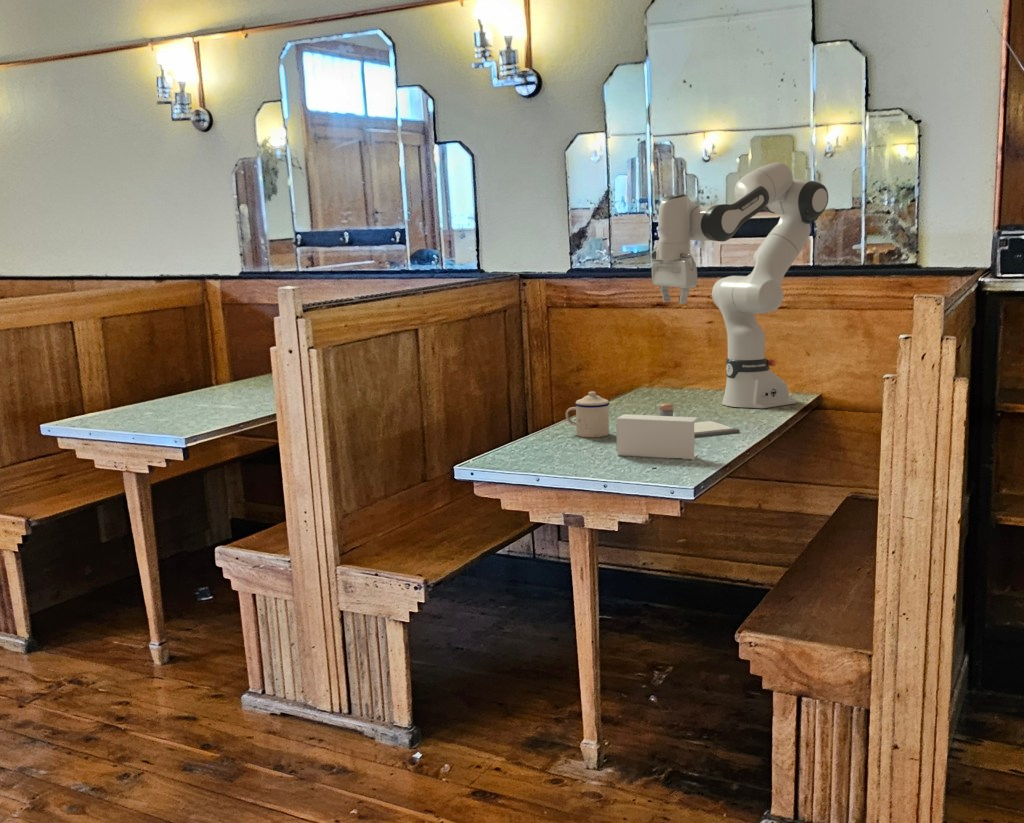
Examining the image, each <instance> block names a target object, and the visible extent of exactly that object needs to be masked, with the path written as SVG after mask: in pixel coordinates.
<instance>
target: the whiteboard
mask: <svg viewBox="0 0 1024 823" xmlns="http://www.w3.org/2000/svg"><path fill="white" fill-rule="evenodd" d="M740 432H741V430H740V429H739V428H736V427H732V426H729V425H726V424H723V423H719V422H717V421H713V420H709V421H699V422H697V421H695V422H694V438H700V437H701V438H702V437H711V436H719V435H729V434H737V433H740Z"/></svg>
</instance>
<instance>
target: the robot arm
mask: <svg viewBox="0 0 1024 823" xmlns="http://www.w3.org/2000/svg"><path fill="white" fill-rule="evenodd" d="M733 191H734V198H735V201H734V202H731V203H730V204H728V203H727V204H725V203H723V204H716V205H700V204H697V203H695V202H694V201H693V200H691V199H690V198H689V196H688V194H686V193H680V194H679V193H678V194H671V195H668V196H664V197H663V198H662V199H661V201H660V202H659V203H660V204H659V205H658V206H659V209H658V217H657V218H658V219H657V222H658V231H659V238H658V242H657V243H658V247H657V248H655V249H654V250H652V251H651V252H650V260H652V262H651V280H652V284H653V285H654V286H657V287H658V286H660V287H659V289H660V293H661V296H662V303H670V302H671V295H670V293H669V290H670V288H671V287H672V288H679V292H680V296H679V297H678V304H680V305H686V304H687V303H688V295H689V292H690V288H692V289H694V288H696V287H697V286H698V270H697V268H698V267H697V263H696V261H695V258H694V257H693V255H692V254H691V241H696V242H698V241H703V242H705V241H706V242H707V241H708V242H709V241H713V242H726V241H729V240H730V239H732V238H733V236H734V235H735V234H736V232H738V230H739V228H740V227H741V226H742V225H743V224H744V223H746V222H747V221H749V220H750V219H751V218H752V217H754V216H755V215H757V214H758V213H760V212H761V211H762V210H764V211H766V212H769V213H770V214H773V215H774V214H777V215H779V216H780V217H779V220H778V222H777V224H776V225H775V226H774V227H773V228H772V229H771V230H770V232H769V233H768V234H767V236H765V239H764V240H763V241H761V242H762V243H760V245H759V246H758V248H757V249H756V251H755V252H754V254H753V257H752V260H753V265H754V267H753V269H752V271H751V273H749V274H748V275H729V276H726V277H722V278H720V279H718V280H717V281H716V282H715V283H714V284H713V287H712V291H711V298H712V301H713V303H714V304H715V306H716V307H717V308H718V310H719V311H720V313H721V315H722V317H723V321H724V325H725V329H726V338H727V340H726V341H727V357H726V360H725V373H726V381H725V382H726V383H725V390H724V395H723V399H722V402H721V404H722V405H723V406H727V407H733V408H734V407H735V408H746V409H747V408H751V409H752V408H754V409H767V408H768V409H769V408H775V407H780V406H787V405H793V404H794V405H795V404H796V403H797V399H795V398H794V397H790V396H789V388H788V387H789V386H788V385H787V382H786V381H785V380H783V379H782V378H781V377H779V376H778V375H777V374H775V373H774V372H773V371H772V370H770V368H771V367H776V365H777V361H776V359H772V358H770V359H769V358H766V356H765V354H766V348H765V347H766V334H765V332H764V329H763V328H762V327H761V326H760V325H759V323H758V321H757V318H756V315H755V314H758V315H761V314H768V313H772V312H774V311H777V310H778V308H779V307H780V306H781V305H782V302H783V299H784V291H783V287H782V282H783V279H784V277H785V274H787V272H788V270H789V269H790V268H791V266H792V265H793V263H794V261H795V260H796V259H797V257H798V256H799V255H800V253H801V252H802V250H803V249H804V247H805V245H806V243H807V242H808V239H809V236H810V235H811V230H812V227H811V224H813V223H815V222H816V221H817V220H818V219H819V217H820V216H821V215H822V214H823V212H824V211H826V210H825V209H826V208H827V207H828V205H829V204H828V203H829V192H828V188H827V186H825V185H824V184H822V183H820V182H818V181H816V180H807V179H801V178H794V177H793V172H792V170H791V169H790V167H789V166H788V165H786V164H785V163H783V162H780V161H779V162H778V161H777V162H776V161H775V162H771V163H767V164H765V165H762V166H760V167H757V168H755V169H754V170H752V171H750V172H748V173H746V174H744V175H743V176H742V177H741V178H740V179H739V180H738V181H737V182H736V183H735V186H734V190H733Z"/></svg>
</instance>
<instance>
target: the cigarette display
mask: <svg viewBox="0 0 1024 823" xmlns="http://www.w3.org/2000/svg"><path fill="white" fill-rule="evenodd" d="M698 420H699V418H698V417H697V416H695V417H694V416H693V417H691V416H675V415H673V416H660V415H650V414H647V415H645V414H626V413H625V414H622V415H620V416H618V417H617V418H616V425H615V426H616V427H615V428H616V431H615V432H616V453H617V457H618V456H623V457H624V456H625V457H639V458H641V457H642V458H656V459H657V458H659V459H670V458H683V459H682V460H687V459H692V460H691V461H694V460H695V459H696V458H697V457H698V456H699V454H697V453H695V437H694V423H696V422H697V421H698ZM697 455H698V456H697ZM696 456H697V457H696ZM695 457H696V458H695ZM693 459H694V460H693Z"/></svg>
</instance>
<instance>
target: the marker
mask: <svg viewBox="0 0 1024 823" xmlns="http://www.w3.org/2000/svg"><path fill="white" fill-rule="evenodd" d="M659 416H674V404H673V403H666V402H665V403H660V404H659Z"/></svg>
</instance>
